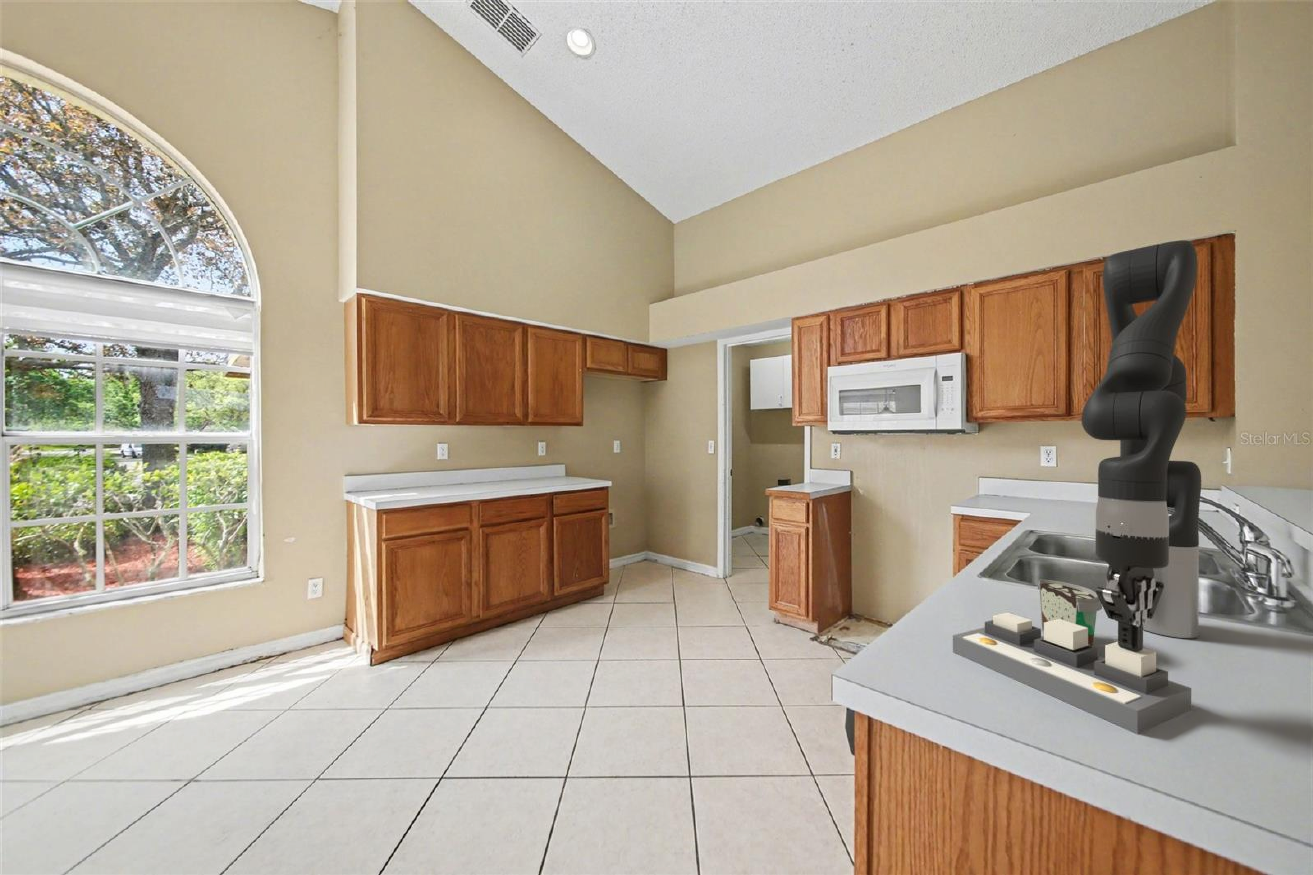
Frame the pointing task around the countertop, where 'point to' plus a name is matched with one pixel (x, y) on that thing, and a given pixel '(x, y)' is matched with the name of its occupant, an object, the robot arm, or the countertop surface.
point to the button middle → (1066, 634)
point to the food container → (1069, 604)
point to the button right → (1130, 659)
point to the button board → (1076, 676)
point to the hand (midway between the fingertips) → (1130, 649)
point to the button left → (1012, 622)
